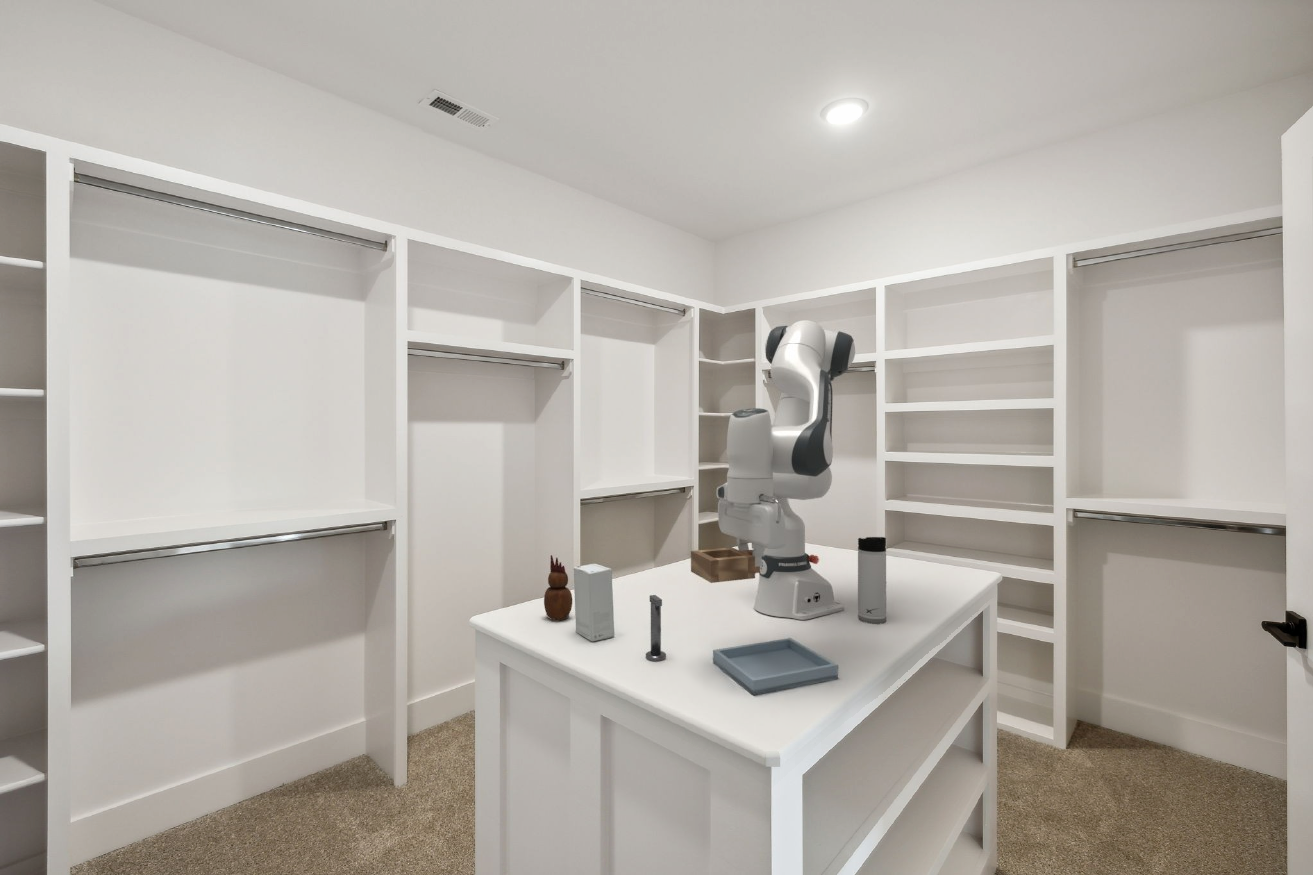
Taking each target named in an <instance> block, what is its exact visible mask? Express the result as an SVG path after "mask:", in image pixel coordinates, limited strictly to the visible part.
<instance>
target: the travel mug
mask: <svg viewBox="0 0 1313 875" xmlns="http://www.w3.org/2000/svg"><path fill="white" fill-rule="evenodd" d="M857 541H858V542H857V544H858V546H857V611H858V612H857V618H858V619H857V620H860V622H863V623H866V622H867V624H871V623H872V624H873V625H874V624H875V625H880V623H881V624H884V623H886V622H887V538H886V537H885V536H884V537H883V536H869V537H868V536H867V537H865V538H862V537H859V538H857Z"/></svg>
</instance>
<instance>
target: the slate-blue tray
mask: <svg viewBox="0 0 1313 875" xmlns="http://www.w3.org/2000/svg"><path fill="white" fill-rule="evenodd" d="M712 663H713V664H714V665H715V666H716V667H717V668H718V669H720V670H721V671H722V672H723V673H725V674H726V675H727V676H729V677H730V678H731V679H732V680H733V681H735V682H736V683H737V684H738V685H740V686H741V687H742V688H743V689H744V690H745V691H747V692H748V693H749V694H751V695H752V696H757V695H762V694H767V693H772V692H778V691H784V690H788V689H793V688H799V687H803V686H809V685H814V684H818V683H824V682H829V681H835V680H838V679H839V664H837V663H836V662H834V661H832V660H830V659H828V658H827V657H825V656H823V655H822V654H819V652H816V651H814V650H812V649H810V648H809V647H807V646H805V645H804V644H802V643H800V642H799V641H796V640H795V639H793V638H791V637H788V638H783V639H775V640H769V641H763V642H761V641H760V642H756V643H751V644H750V643H749V644H745V645H738V646H737V645H736V646H731V647H725V648H723V647H722V648H719V649H713V650H712Z"/></svg>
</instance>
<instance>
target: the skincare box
mask: <svg viewBox="0 0 1313 875" xmlns="http://www.w3.org/2000/svg"><path fill="white" fill-rule="evenodd" d="M612 571H613V569H612V568H610V567H606V566H604V565H601V564H598V563H589V564H584V565H579V566H574V567H573V585H574V586H573V591H574V611H575V612H574V618H575V633H577V634H579V635H580V636H582V637H584V638H585V639H587V640H588V641H590V642H596V641H600V640H607V639H611V638H614V637H615V617H614V613H615V612H614V594H613V592H614V590H613V572H612Z"/></svg>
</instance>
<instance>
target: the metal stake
mask: <svg viewBox="0 0 1313 875" xmlns="http://www.w3.org/2000/svg"><path fill="white" fill-rule="evenodd" d="M649 602H650V650H649V651H647V652H646V653H645V659H646V660H647V661H650V662H662V661H664V660H666V659H667V653H666V652H665V651H664V650H663V651H662V619H661V618H662V614H661V613H662V612H661V611H662V610H661V609H662V606H663V599H662V598H660V597H659V596H657V595H656V594H651V595H649Z"/></svg>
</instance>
